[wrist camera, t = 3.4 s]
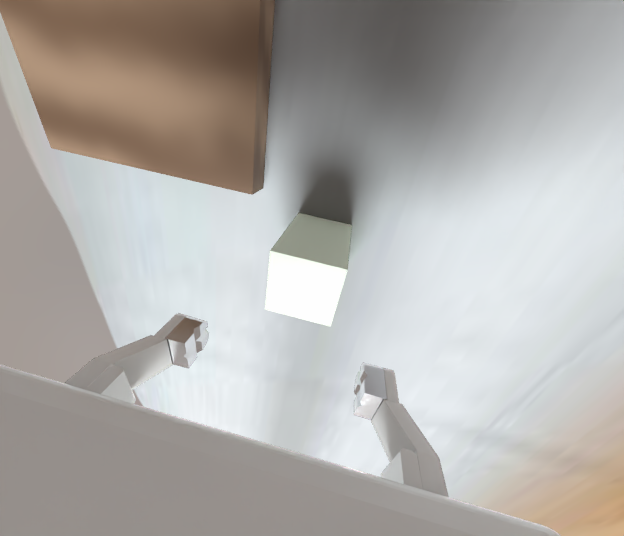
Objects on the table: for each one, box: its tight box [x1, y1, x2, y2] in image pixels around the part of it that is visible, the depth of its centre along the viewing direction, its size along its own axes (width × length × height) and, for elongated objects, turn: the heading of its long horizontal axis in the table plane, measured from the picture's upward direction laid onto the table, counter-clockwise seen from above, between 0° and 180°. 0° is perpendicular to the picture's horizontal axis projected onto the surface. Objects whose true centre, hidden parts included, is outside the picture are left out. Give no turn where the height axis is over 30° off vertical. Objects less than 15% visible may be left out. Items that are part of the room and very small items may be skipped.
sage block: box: [265, 213, 352, 326], centre depth 19 cm, size 5×5×8 cm
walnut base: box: [0, 0, 275, 194], centre depth 16 cm, size 18×18×3 cm
